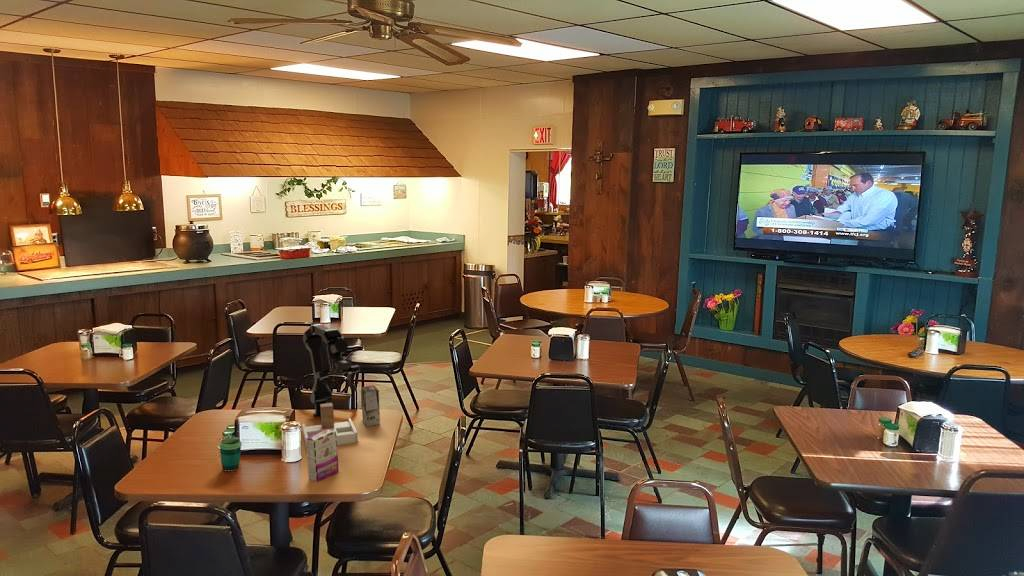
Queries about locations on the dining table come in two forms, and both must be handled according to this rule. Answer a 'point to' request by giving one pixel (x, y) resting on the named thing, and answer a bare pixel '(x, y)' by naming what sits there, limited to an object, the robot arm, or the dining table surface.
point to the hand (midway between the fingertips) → (341, 391)
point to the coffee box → (370, 405)
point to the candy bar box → (322, 455)
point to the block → (327, 416)
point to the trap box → (343, 432)
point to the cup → (230, 453)
